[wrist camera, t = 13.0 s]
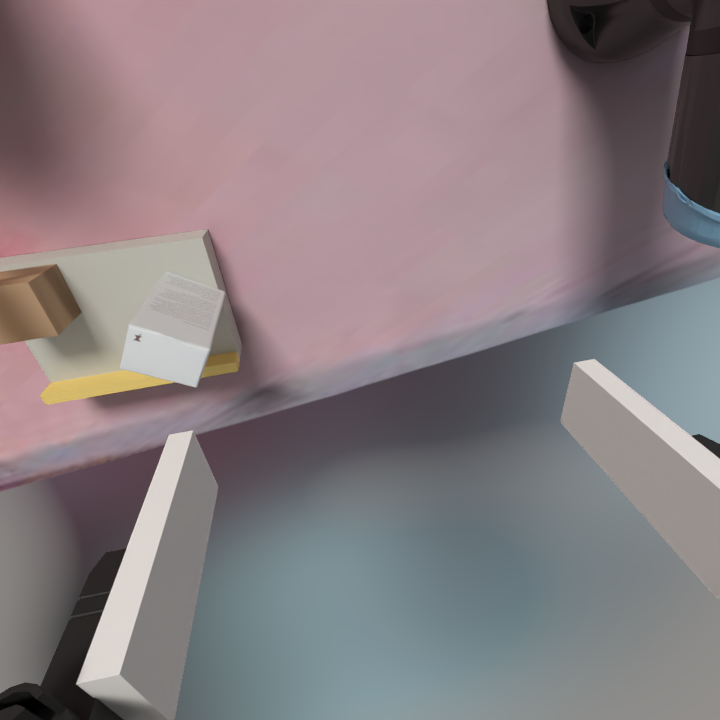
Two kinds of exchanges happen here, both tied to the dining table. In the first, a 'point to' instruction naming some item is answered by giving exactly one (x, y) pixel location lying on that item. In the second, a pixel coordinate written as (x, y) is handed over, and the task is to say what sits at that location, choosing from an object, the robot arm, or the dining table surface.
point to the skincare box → (173, 330)
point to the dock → (121, 310)
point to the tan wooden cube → (35, 304)
